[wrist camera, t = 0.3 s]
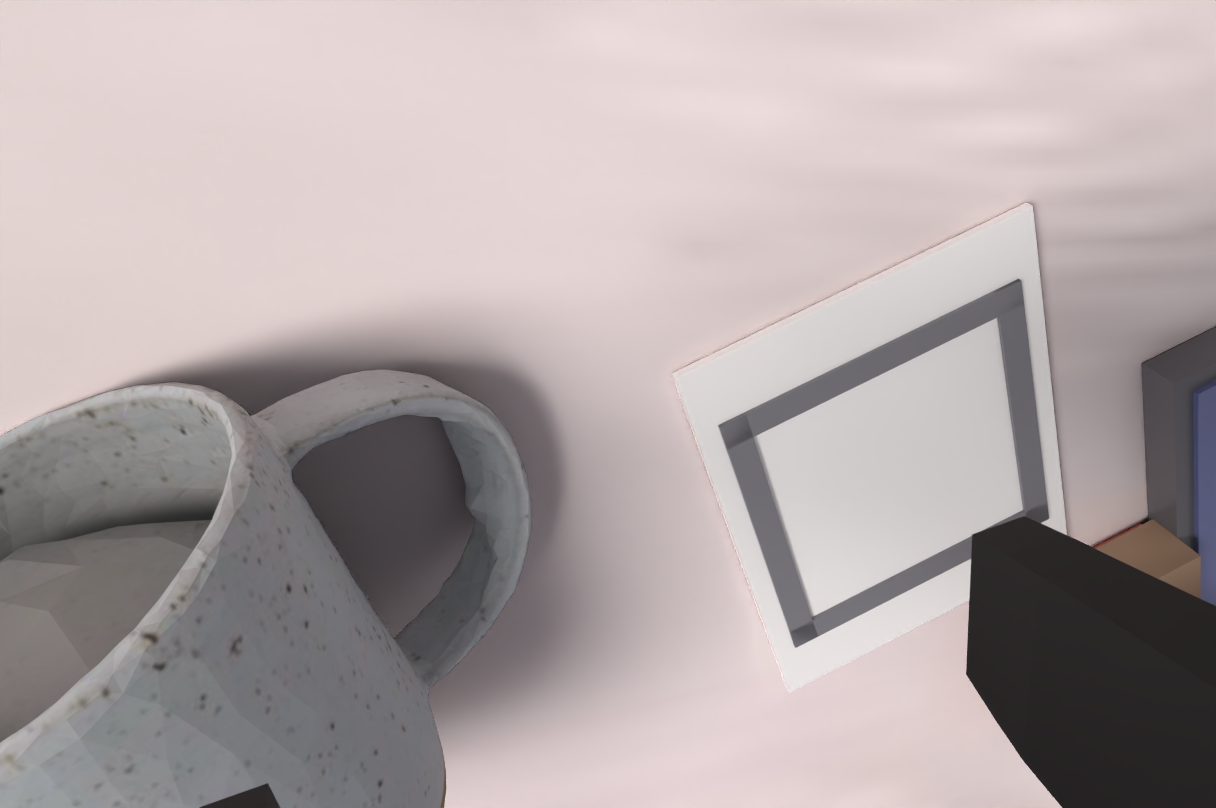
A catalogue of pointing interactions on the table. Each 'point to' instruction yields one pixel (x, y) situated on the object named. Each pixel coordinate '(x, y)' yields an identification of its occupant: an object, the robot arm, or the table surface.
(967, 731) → the table surface
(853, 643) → the paper
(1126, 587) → the robot arm
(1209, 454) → the ink pad
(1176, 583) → the stamp
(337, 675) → the ceramic mug
